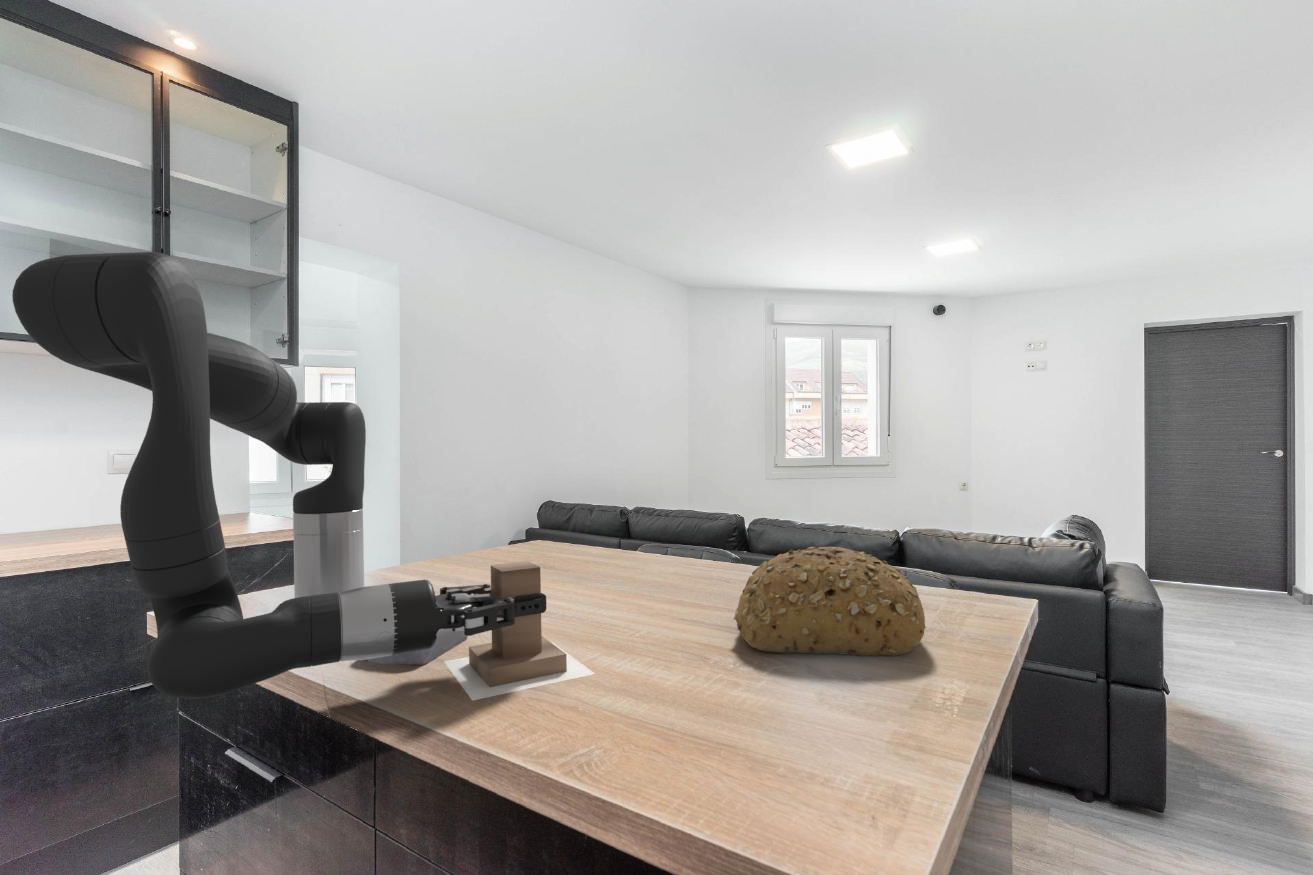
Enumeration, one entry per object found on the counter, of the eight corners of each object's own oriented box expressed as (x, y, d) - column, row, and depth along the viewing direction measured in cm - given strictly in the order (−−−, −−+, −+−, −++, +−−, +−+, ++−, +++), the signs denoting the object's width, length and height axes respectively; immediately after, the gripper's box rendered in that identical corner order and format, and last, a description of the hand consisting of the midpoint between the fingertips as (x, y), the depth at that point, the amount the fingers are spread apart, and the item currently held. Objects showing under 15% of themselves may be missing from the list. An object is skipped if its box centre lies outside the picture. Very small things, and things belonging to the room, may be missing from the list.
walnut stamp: (469, 663, 78) (467, 564, 78) (540, 649, 82) (538, 556, 83) (489, 687, 70) (487, 577, 70) (566, 671, 75) (564, 567, 75)
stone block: (357, 679, 79) (430, 667, 77) (350, 640, 79) (423, 627, 78) (412, 651, 91) (476, 640, 89) (406, 617, 91) (470, 605, 89)
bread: (896, 615, 96) (894, 535, 97) (943, 665, 75) (941, 563, 75) (733, 613, 99) (731, 536, 99) (734, 661, 78) (732, 562, 78)
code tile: (443, 662, 79) (443, 661, 79) (551, 642, 86) (551, 641, 86) (472, 701, 67) (472, 700, 67) (595, 674, 74) (595, 673, 74)
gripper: (395, 598, 63) (559, 577, 72) (377, 573, 75) (518, 557, 84) (396, 674, 63) (560, 644, 72) (378, 637, 75) (519, 615, 84)
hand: (537, 597), depth 78 cm, fingers closed on walnut stamp, 4 cm apart
